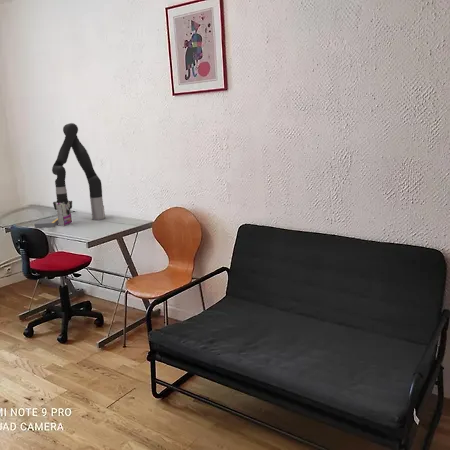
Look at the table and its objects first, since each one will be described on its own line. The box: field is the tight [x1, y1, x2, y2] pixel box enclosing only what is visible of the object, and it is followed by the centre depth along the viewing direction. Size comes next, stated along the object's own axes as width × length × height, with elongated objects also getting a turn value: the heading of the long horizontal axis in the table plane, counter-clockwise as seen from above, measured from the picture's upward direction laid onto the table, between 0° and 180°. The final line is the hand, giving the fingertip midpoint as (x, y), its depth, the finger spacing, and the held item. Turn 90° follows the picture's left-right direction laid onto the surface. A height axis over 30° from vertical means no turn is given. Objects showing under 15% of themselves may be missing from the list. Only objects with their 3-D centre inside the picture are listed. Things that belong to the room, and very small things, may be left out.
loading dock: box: [33, 217, 59, 229], centre depth 347 cm, size 14×16×3 cm
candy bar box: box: [56, 202, 73, 227], centre depth 346 cm, size 11×5×16 cm, turn 168°
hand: (64, 214), depth 346 cm, fingers closed on candy bar box, 5 cm apart
